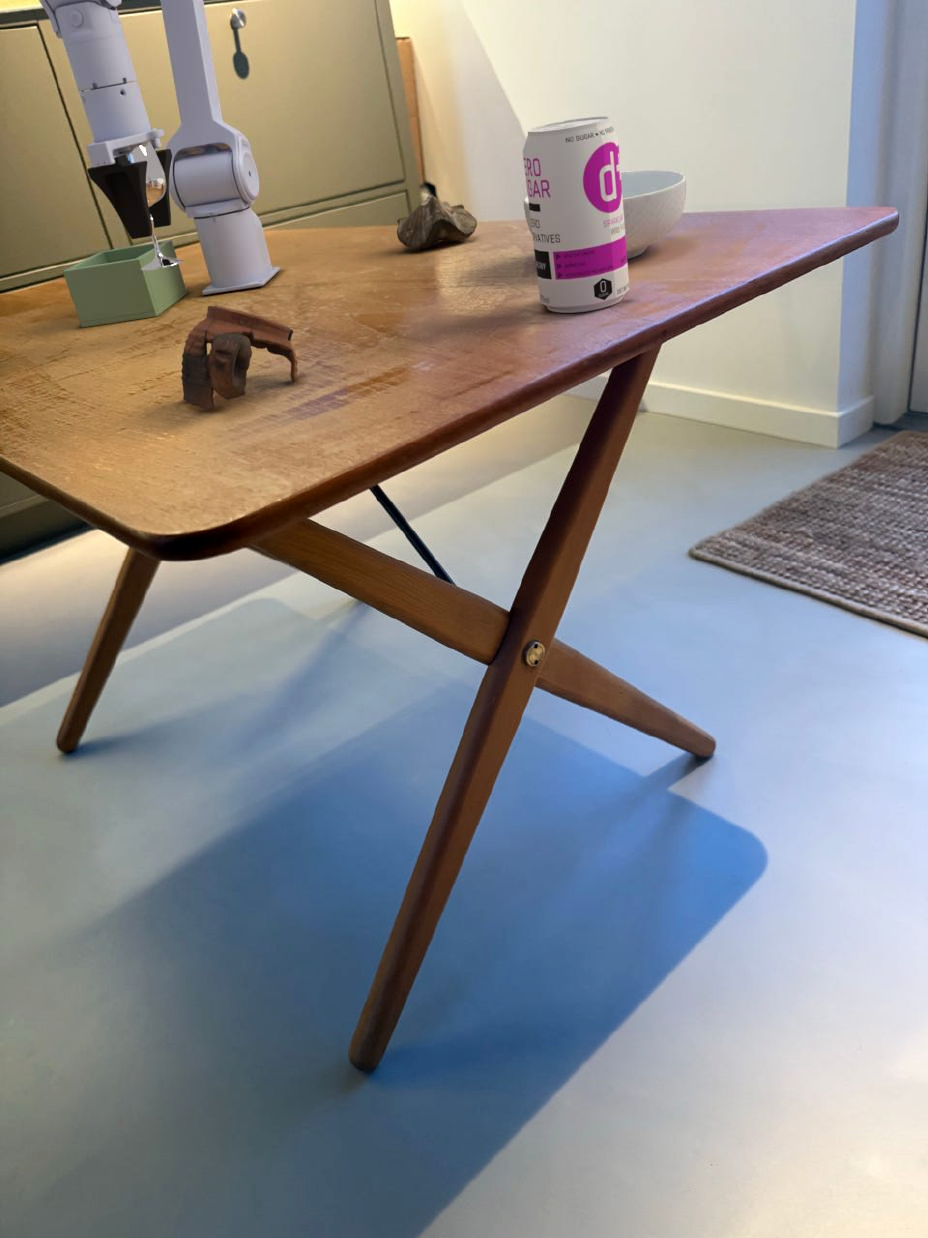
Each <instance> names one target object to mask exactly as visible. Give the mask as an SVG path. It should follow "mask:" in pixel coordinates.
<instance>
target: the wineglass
mask: <svg viewBox="0 0 928 1238" xmlns="http://www.w3.org/2000/svg"><path fill="white" fill-rule="evenodd" d="M155 151H156V149H155V150H154V148H153V146H152V144H151V142H150V141H148V142H144V143H140V144H136V145H131V146H130V150H128V151H123V152H119V154H122V155H125V156H126V159H127V161H130V163H135V162H141V161H147V170H146V193H147V201H148V207H149V209H150V208H151V207H153V206H154V205H156V204H157V203H158V202H159V201H160V200H161V199H162V198H163V197H164V194H165V192H166V178H165V174H164V170H163V167H162V164H161V162H160V160H159V158H158V155H157V153H156V152H155ZM150 217H151V222H152V236H150V237H151V241H152V243H153V244H154V248H155V257H154V259H153V261H151V262H150V263H149V264H147V265H145V266H143V267H142V268H141V270H143V271H148V270H156V269H161V268H166V267H170V266H173V265H176V264H179V265H180V264H181V263H182V262H184V260H183V259H182V258H177V259H173V258H169V257H166V256H164V255H163V254H162V252H161V251H160V249H159V246H158V242H159V241H158V240H157V235H156V232H155V228H154V220H153V217H152V215H151V214H150Z"/></svg>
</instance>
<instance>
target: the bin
mask: <svg viewBox="0 0 928 1238" xmlns="http://www.w3.org/2000/svg"><path fill="white" fill-rule="evenodd" d="M157 242H158V246H159V249H160V251H161V252H162V254H163V255H164V256H166V257H169V258H173V259H178V257H177V254H176V249H175V246H174V244H173V240H171V239H170V240H169V239H168V240H164V241H157ZM154 257H155V248H154V244H153V242H150V243H145V244H139V245H131V246H127V247H126V246H125V247H120V248H114V249H107V250H101V251H99V252H97V253H95V254H93V255H91V256H89V257H86V258H85V259H83V260H81V261H79V262H78V263H75V264H74V265H72V266H70V267H68V268H66V269H65V270H63V271H62V274H63V277H64V280H65V283H66V286H67V288H68V291H69V294H70V297H71V300H72V303H73V306H74V309H75V311H76V315H77V317H78V320H79V322H80V323H79V324H80V326H81V328H88V327H89V328H90V327H94V326H101V325H109V324H113V323H116V324H117V323H122V322H129V321H134V320H135V321H136V320H142V319H148V318H155V317H158V316H159V315H161V314H162V313H163V312H164V311H166V310H167V309H169V308H170V307H171V306H173V305H174V304H175V303H177V302H178V301H180V299H182V298H183V297H184V296H186V295H187V294H188V290H187V288H186V284H185V282H184V277H183V274H182V270H181V267H180V263H179V264H176V265H173V266H170V267H166V268H161V269H156V270H148V271H143V270H141V268H142V267H143V266H145V265H147V264H149V263H150V262H151V261H153V259H154Z"/></svg>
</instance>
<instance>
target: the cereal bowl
mask: <svg viewBox="0 0 928 1238" xmlns="http://www.w3.org/2000/svg"><path fill="white" fill-rule="evenodd" d="M621 183H622V196H623V210H624V223H625V237H626V250H627V260H629V259H632V258H635V257H638V256H640V255H642V254H643V253H645V252H646V249H647V248H648V247H649V246H651V245H653V244H655V243H656V242H658V241H660V240H662V239H664V237H666V236H667V235H668V234H670V233H671V232H672V231H673V230H674V229H675V227H676V226H677V225H678V223H679V221H680V219H681V217H682V215H683V214H684V209H685V205H686V199H687V178H686V176H685V175H684V174H683V173H681V172H679V171H674V170H665V169H646V170H645V169H642V170H629V171H628V170H627V171H621ZM523 210H524V215H525V220H526V225H527V227H528V230H529V232H530V234H531V236H532V237H533V235H532V227H531V218H530V210H529V201H528V195H527V196H525V198H524V199H523Z"/></svg>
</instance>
